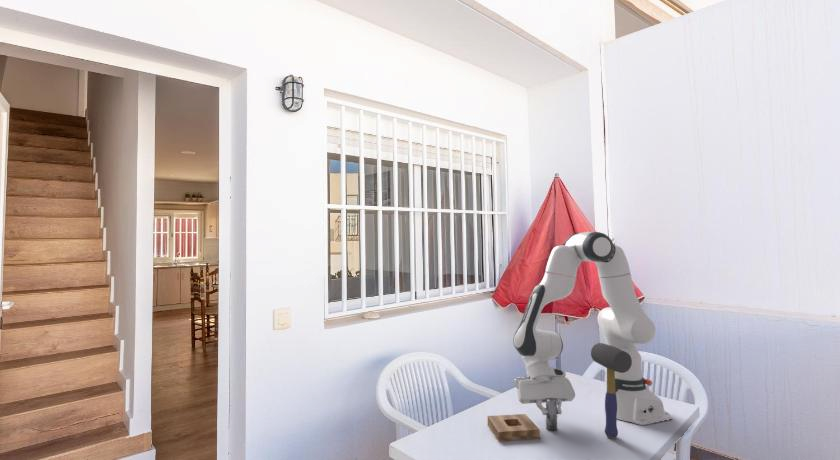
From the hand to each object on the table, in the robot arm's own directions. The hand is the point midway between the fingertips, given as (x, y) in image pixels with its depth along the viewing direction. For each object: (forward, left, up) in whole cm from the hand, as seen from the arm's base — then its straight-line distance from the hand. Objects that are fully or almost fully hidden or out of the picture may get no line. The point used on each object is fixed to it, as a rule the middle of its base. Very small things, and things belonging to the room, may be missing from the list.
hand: (552, 414), depth 140 cm
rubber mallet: (-17, +7, -6) cm, 19 cm away
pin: (0, -1, -5) cm, 5 cm away
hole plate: (+14, -1, -5) cm, 15 cm away
